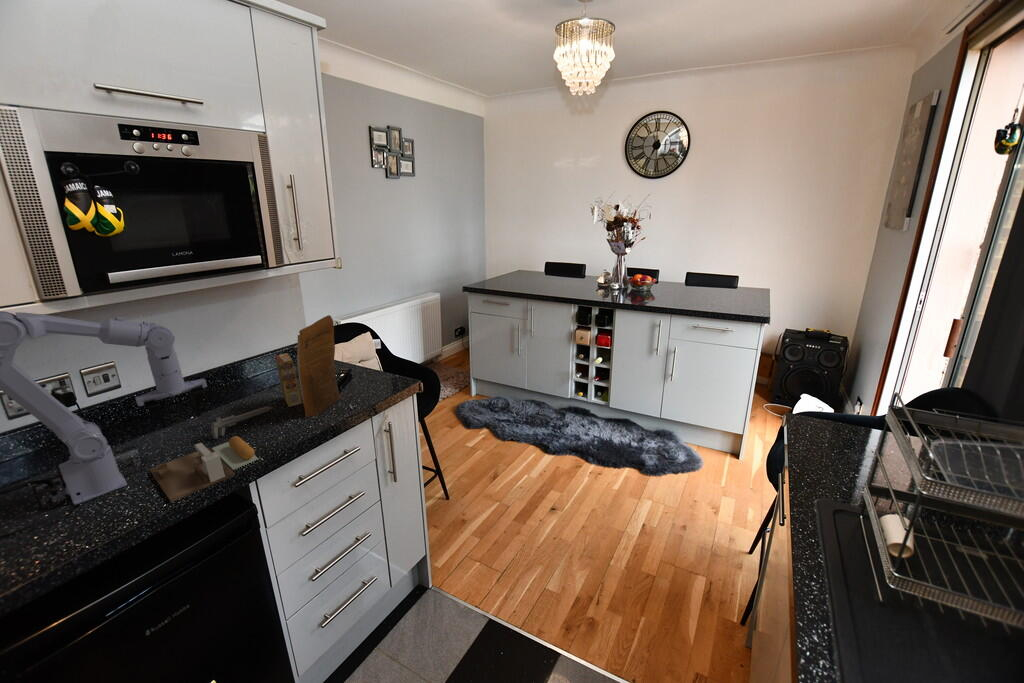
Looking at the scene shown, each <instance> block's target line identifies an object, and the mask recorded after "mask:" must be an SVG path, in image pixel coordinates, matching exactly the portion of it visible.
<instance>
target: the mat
mask: <svg viewBox="0 0 1024 683" xmlns="http://www.w3.org/2000/svg"><path fill="white" fill-rule="evenodd" d="M211 450H212V451H213V452H216V453H217V454H218V455H219V456H220V459H221V460H222V461H223V462H224V463H225V464H226V465H227V466H228V467H229V468H230V469H231V470H232V471H233V470H234V471H236V470H238V468H239V469H241V468H243V467H242V466H244V467H246V466H248V465H250V464H249V463H251V464H253V463H255V462H254V461H256V460H258V461H259V458H258V456H256V454H254V456H253V457H252V458H250V459H244V458H243V457H241V456H240V455H239V454H238V453H237V452H236V451H235V450H234V449H233V448H232V447H231V446H230V445H229V441H226V442H225V443H222V444H218V445H217V446H213V447H212V448H211ZM252 462H253V463H252ZM256 462H257V461H256ZM247 464H248V465H247ZM245 465H246V466H245ZM240 467H241V468H240ZM235 469H236V470H235Z"/></svg>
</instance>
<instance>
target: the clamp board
mask: <svg viewBox="0 0 1024 683" xmlns="http://www.w3.org/2000/svg"><path fill="white" fill-rule="evenodd" d="M206 448H207V449H208V450H209V451H210V452H211V453H213V452H214V451H213V450H212V448H210V447H206ZM201 457H203V456H202V455H201V454H200V453H199V452H198V451H197V450H196V451H195V452H192V453H190V454H186V455H184V456H181V457H178V458H176V459H173V460H170V461H167V462H165V463H161V464H159V465H157V466H154V467H152V468H149V472H150V473H151V475H152V476H153V478H154V479H155V481H156V482H157V484H158V486H160V488H161V490H162V491H163V493H164V494H165V495H166V498H167V499H168V500H169V502H170V503H173V502H175V501H177V500H179V499H182V498H185V497H187V496H189V495H192V494H194V493H196V492H199V491H201V490H203V489H206V488H208V487H210V485H211V486H213V485H216V484H217V483H220V482H222V481H225V480H227V479H229V478H232V477H234V476H235V472H234V471H233V470H232V469H231V468H230V467H229V466H228V465H227V464H226V463H225V462H224V461H223V460H222V459H221V463H222V467H223V470H224V474H225V477H223V478H221V479H218V480H216V481H214V482H210V481H209V480H208V479H207V475H206V473H205V469H204V466H203V462H202V459H201Z"/></svg>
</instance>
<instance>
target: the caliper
mask: <svg viewBox="0 0 1024 683" xmlns="http://www.w3.org/2000/svg"><path fill="white" fill-rule="evenodd" d="M272 409H274V408H273V407H271V406H264V407H261V408H257V409H255V410H251V411H248V412H244V413H242V414H239V415H230V416H228V417H223V418H221V417H220V416H217V417H213V418H212V419H213V421H212V422H211V426H210V427H211V432H212V433H211V434H212V437H213V439H215V440H218V439H219V437H220V436H223V437H225V432H226V428H227V427H233V426H236V425H237V422H241V421H244V420H246V419H249V418H252V417H257V416H258V415H261V414H265V413H267V412H269V411H270V410H272Z"/></svg>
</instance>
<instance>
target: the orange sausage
mask: <svg viewBox="0 0 1024 683" xmlns="http://www.w3.org/2000/svg"><path fill="white" fill-rule="evenodd" d="M228 442H229V445H230V446H231V447H232V448H233V449H234V450H235V451H236V452H237V453H238V454H239V455H240V456H241V457H243V458H244V459H250V458H252V457H253V456H254V455H255V450H254V448H253V447H252V446H251V445H249V444H248V443H247V442H246V441H244V440H243V438H241V437H240V436H238V435H237V436H236V435H234V436H232V437H230V438H229V439H228Z"/></svg>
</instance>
